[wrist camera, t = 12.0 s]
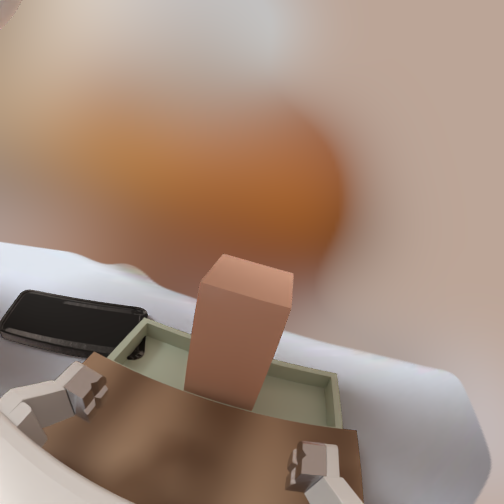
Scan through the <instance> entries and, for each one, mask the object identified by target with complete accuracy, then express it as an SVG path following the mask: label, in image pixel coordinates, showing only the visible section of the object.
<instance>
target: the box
mask: <svg viewBox="0 0 504 504" xmlns="http://www.w3.org/2000/svg"><path fill="white" fill-rule="evenodd" d="M145 336H146V341H145V353H144V355H143V357H141V358H140V359H137V360H128V359H127V357H128V356H130V354H131V353H132V352H133V351H134V350H135V348H136V347H137V346H138V345H139V344H140V343H141V341H142V339H143V338H144V337H145ZM190 340H191V334H188V333H185V332H182V331H179V330H177V329H174V328H171V327H168V326H166V325H163V324H160V323H158V322H155V321H152V320H150V319H147V318H145V317H144V318H143V319H142V320H141V322H140V323H139V324H138V325H137V326H136V327H135V328H134V329H133V330H132V331H131V332H130V333H129V334H128V335H127V336H126V337H125V339H124V340H123V341H122V342H121V343H120V344H119V345H118V346H117V347H116V348H115V349H114V350H113V351H112V353H111V354H110V355H109V356H108V357H107V358H108V359H110V360H112V361H114V362H116V363H118V364H120V365H122V366H124V367H126V368H129V369H131V370H133V371H135V372H137V373H140V374H142V375H144V376H147V377H149V378H151V379H154V380H156V381H159V382H161V383H163V384H166V385H169V386H171V387H174V388H176V389H179V390H182V391H184V383H185V375H186V368H187V361H188V354H189V347H190ZM185 392H187V391H185ZM187 393H190V392H187ZM190 394H193V393H190ZM193 395H196V394H193ZM196 396H199V395H196ZM199 397H202V396H199ZM202 398H205V397H202ZM205 399H208V398H205ZM208 400H211V399H208ZM211 401H214V400H211ZM214 402H217V401H214ZM217 403H220V402H217ZM221 404H224V403H221ZM224 405H227V404H224ZM227 406H231V405H227ZM231 407H234V406H231ZM234 408H238V407H234ZM238 409H241V408H238ZM242 410H245V409H242ZM245 411H249V410H245ZM249 412H253V413H257V414H261V415H265V416H270V417H274V418H279V419H284V420H289V421H294V422H299V423H305V424H311V425H317V426H324V427H331V428H339V429H343V423H342V413H341V404H340V395H339V387H338V379H337V374H336V373H331V372H326V371H321V370H317V369H312V368H307V367H303V366H299V365H294V364H290V363H286V362H282V361H278V360H274V359H273V360H272V362H271V365H270V367H269V370H268V372H267V375H266V377H265V380H264V382H263V385H262V387H261V390H260V392H259V395H258V397H257V400H256V402H255V404H254V407H253V409H252V411H249Z"/></svg>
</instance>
